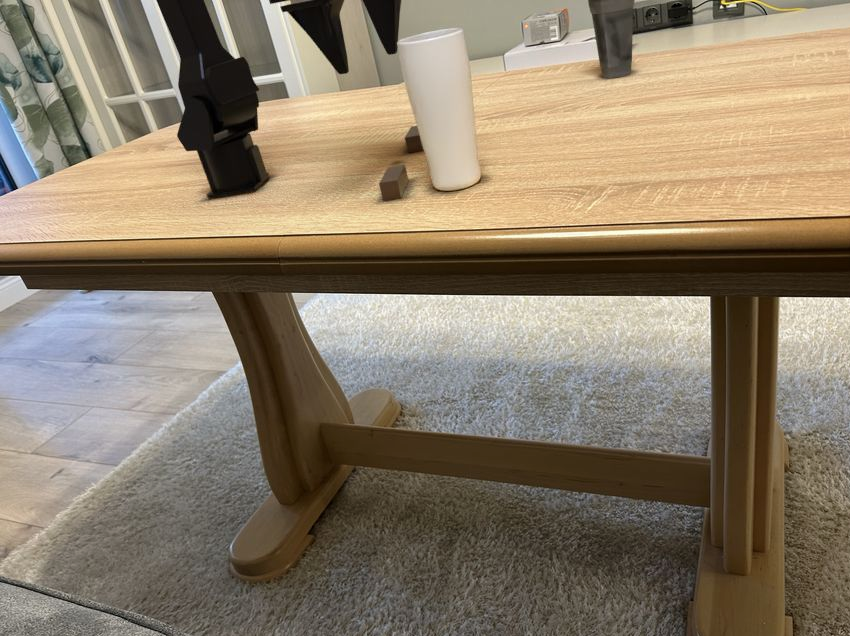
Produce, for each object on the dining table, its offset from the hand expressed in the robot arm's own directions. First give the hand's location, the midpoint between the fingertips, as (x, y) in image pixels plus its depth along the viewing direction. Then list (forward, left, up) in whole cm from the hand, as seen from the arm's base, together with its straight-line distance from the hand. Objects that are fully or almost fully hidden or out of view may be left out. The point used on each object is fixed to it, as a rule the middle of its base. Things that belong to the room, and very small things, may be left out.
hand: (369, 63), depth 73 cm
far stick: (0, +17, -13) cm, 21 cm away
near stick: (0, -2, -13) cm, 13 cm away
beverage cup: (+29, +42, -13) cm, 53 cm away
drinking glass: (+7, -3, -13) cm, 15 cm away
